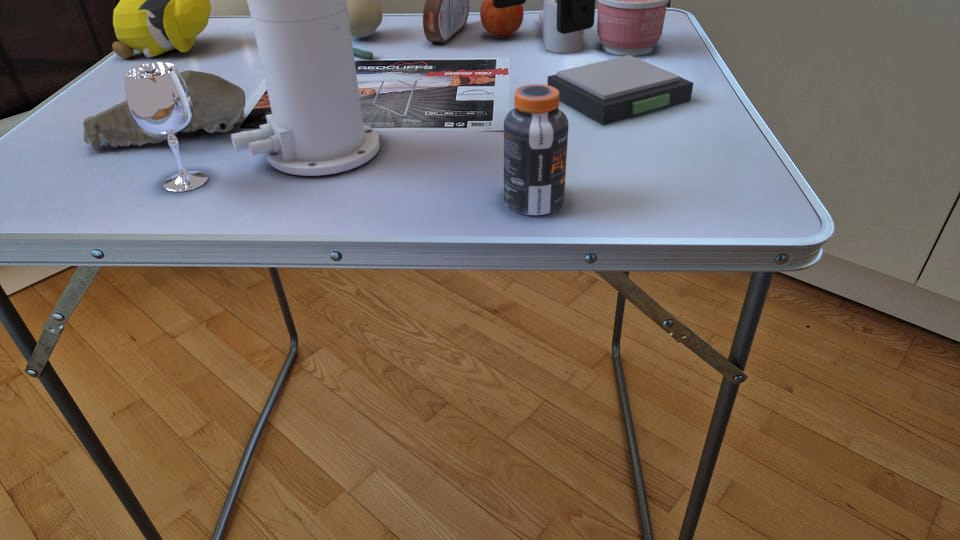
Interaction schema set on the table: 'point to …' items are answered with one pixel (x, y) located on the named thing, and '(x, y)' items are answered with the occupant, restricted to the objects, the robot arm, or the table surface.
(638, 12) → the container
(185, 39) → the toy
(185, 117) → the wineglass
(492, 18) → the fruit
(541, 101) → the pill bottle
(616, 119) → the scale
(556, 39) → the grey hollow cylinder
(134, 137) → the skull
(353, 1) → the potato
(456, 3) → the tin
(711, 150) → the table surface
